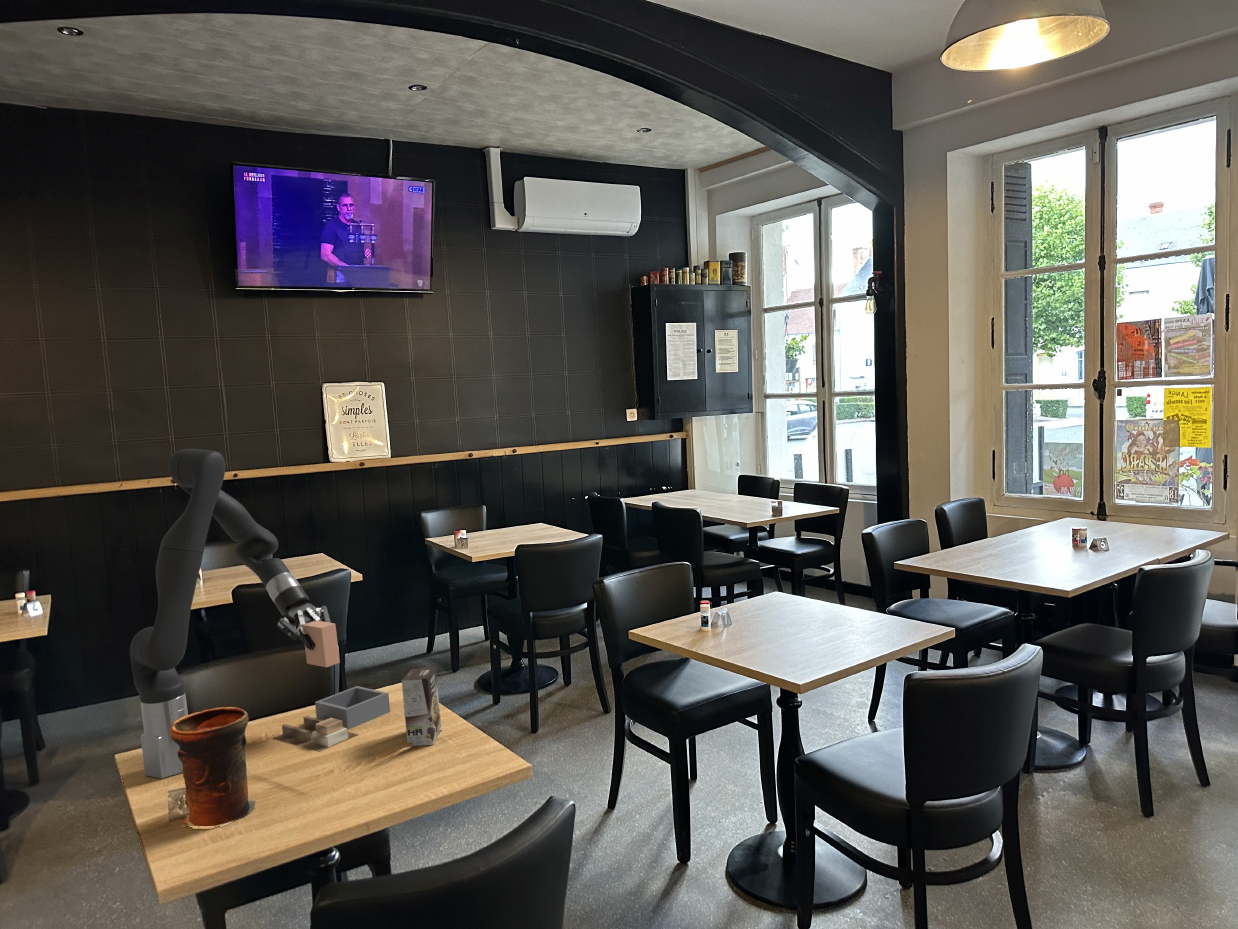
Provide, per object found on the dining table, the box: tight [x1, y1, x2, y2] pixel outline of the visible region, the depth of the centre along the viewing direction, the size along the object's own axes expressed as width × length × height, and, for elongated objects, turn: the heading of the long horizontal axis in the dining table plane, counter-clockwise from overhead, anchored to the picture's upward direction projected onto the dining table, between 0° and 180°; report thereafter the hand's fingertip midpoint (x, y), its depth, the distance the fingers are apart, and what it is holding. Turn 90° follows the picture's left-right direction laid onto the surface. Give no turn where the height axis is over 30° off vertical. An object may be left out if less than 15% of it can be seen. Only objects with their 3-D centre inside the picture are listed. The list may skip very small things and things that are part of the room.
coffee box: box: [401, 666, 443, 747], centre depth 207 cm, size 9×6×16 cm
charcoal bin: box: [314, 685, 391, 731], centre depth 224 cm, size 13×13×6 cm
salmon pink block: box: [304, 621, 341, 668], centre depth 217 cm, size 8×4×10 cm, turn 54°
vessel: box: [170, 706, 256, 829], centre depth 176 cm, size 14×14×20 cm
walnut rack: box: [273, 715, 359, 753], centre depth 212 cm, size 19×11×4 cm, turn 54°
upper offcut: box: [316, 718, 343, 735], centre depth 208 cm, size 4×4×2 cm
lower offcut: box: [312, 727, 349, 748], centre depth 208 cm, size 6×6×2 cm
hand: (321, 645), depth 218 cm, fingers closed on salmon pink block, 4 cm apart
